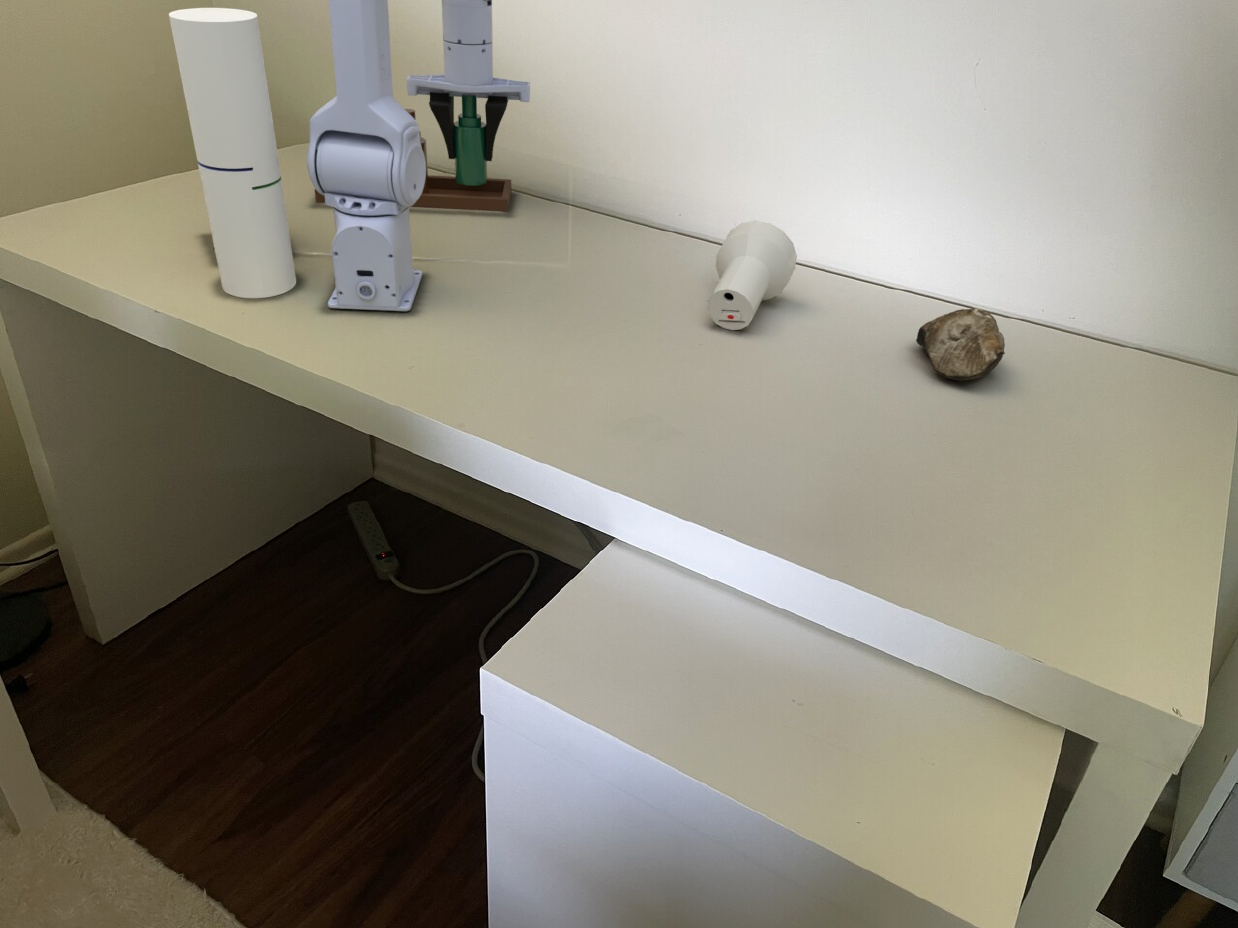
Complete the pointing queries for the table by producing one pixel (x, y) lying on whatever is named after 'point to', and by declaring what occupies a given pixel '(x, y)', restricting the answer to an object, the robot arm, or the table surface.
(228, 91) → the cylindrical container
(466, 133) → the green bottle
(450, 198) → the tray
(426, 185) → the brown bottle
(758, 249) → the spotlight
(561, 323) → the table surface
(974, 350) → the fossilized seashell
